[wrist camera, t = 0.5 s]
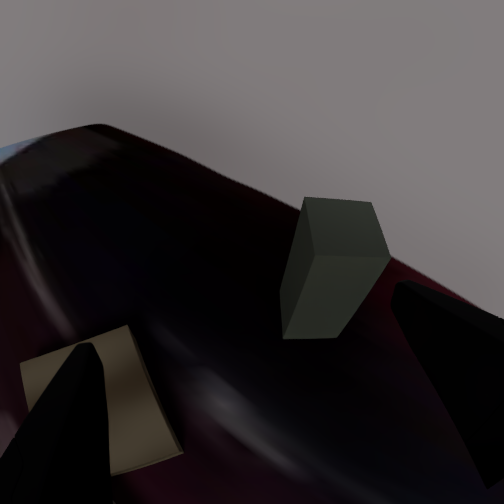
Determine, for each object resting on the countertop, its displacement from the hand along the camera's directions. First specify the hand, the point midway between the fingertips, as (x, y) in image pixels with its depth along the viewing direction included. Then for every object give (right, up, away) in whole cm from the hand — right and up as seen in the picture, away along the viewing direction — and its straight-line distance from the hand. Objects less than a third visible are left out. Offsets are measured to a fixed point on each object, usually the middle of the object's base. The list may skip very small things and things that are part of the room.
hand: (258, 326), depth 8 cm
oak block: (-12, -10, +12) cm, 20 cm away
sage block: (+5, -3, +19) cm, 19 cm away
